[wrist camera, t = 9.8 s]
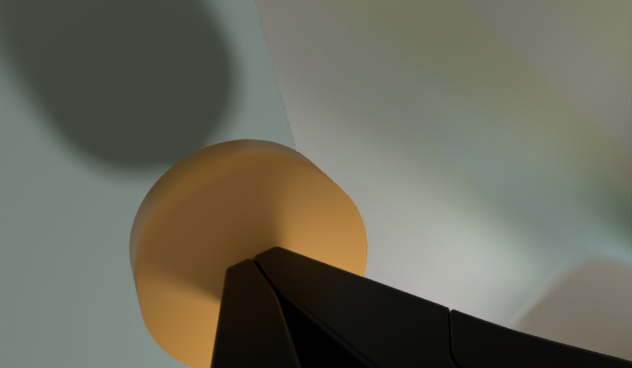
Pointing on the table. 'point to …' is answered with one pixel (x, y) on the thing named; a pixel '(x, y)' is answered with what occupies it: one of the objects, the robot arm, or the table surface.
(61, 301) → the grey green box
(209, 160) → the tan round piece
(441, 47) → the table surface
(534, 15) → the table surface
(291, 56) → the table surface
